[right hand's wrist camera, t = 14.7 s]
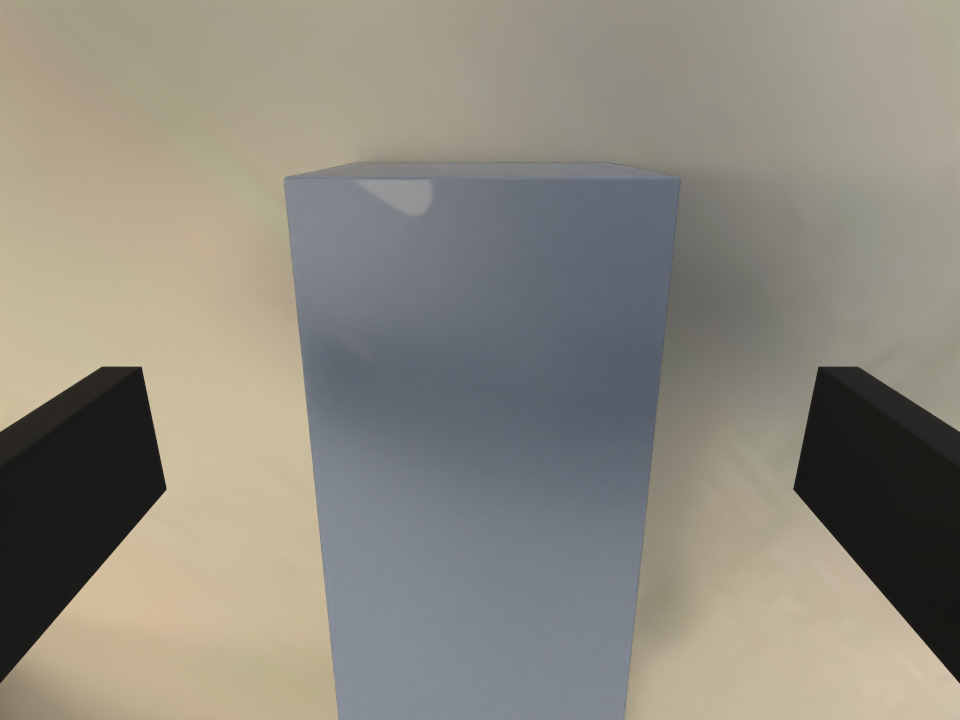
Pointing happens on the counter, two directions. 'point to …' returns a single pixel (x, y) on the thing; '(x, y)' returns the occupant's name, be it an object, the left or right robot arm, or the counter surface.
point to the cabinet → (481, 427)
